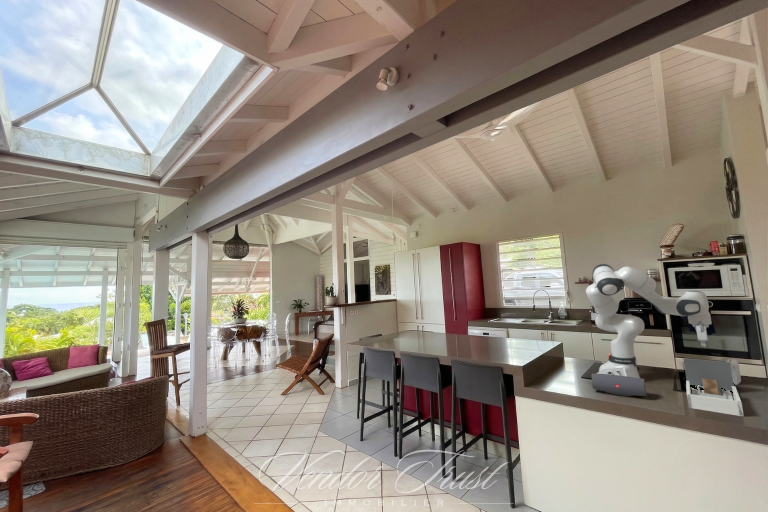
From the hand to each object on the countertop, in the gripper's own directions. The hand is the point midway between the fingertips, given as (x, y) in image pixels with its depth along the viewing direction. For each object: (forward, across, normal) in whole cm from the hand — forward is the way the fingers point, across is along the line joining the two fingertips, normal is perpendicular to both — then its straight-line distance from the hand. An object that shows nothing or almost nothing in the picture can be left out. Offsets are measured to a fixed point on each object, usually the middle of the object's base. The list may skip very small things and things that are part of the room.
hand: (703, 345), depth 169 cm
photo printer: (+22, +12, -10) cm, 27 cm away
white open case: (+21, -16, 0) cm, 26 cm away
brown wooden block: (+20, -16, 0) cm, 25 cm away
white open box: (+21, -26, 0) cm, 34 cm away
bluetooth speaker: (+21, -34, +36) cm, 54 cm away
